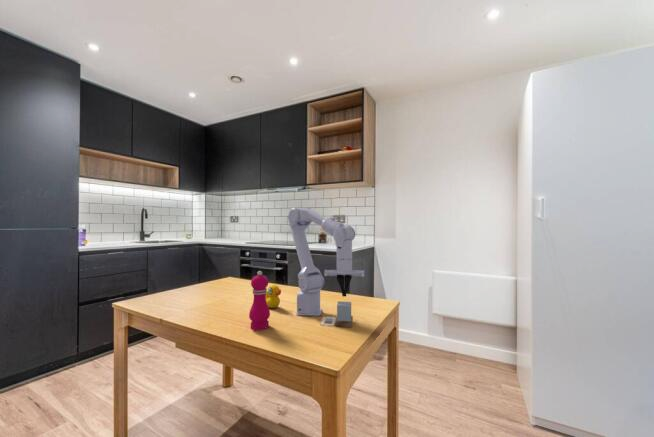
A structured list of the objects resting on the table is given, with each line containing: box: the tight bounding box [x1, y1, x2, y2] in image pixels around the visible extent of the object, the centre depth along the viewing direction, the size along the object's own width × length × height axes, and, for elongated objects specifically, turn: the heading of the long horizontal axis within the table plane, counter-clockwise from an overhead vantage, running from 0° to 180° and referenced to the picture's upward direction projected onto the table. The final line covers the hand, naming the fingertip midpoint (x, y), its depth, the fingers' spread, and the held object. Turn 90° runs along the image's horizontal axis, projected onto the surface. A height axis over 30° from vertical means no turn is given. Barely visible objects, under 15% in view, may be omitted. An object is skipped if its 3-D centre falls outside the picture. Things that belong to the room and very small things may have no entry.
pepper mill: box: [248, 270, 271, 331], centre depth 98 cm, size 7×7×20 cm
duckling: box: [265, 284, 282, 309], centre depth 120 cm, size 11×5×10 cm, turn 44°
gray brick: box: [336, 301, 352, 321], centre depth 100 cm, size 5×5×6 cm
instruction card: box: [320, 316, 337, 327], centre depth 103 cm, size 5×8×1 cm, turn 174°
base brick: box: [335, 315, 354, 328], centre depth 101 cm, size 6×6×2 cm
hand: (344, 295), depth 101 cm, fingers closed
